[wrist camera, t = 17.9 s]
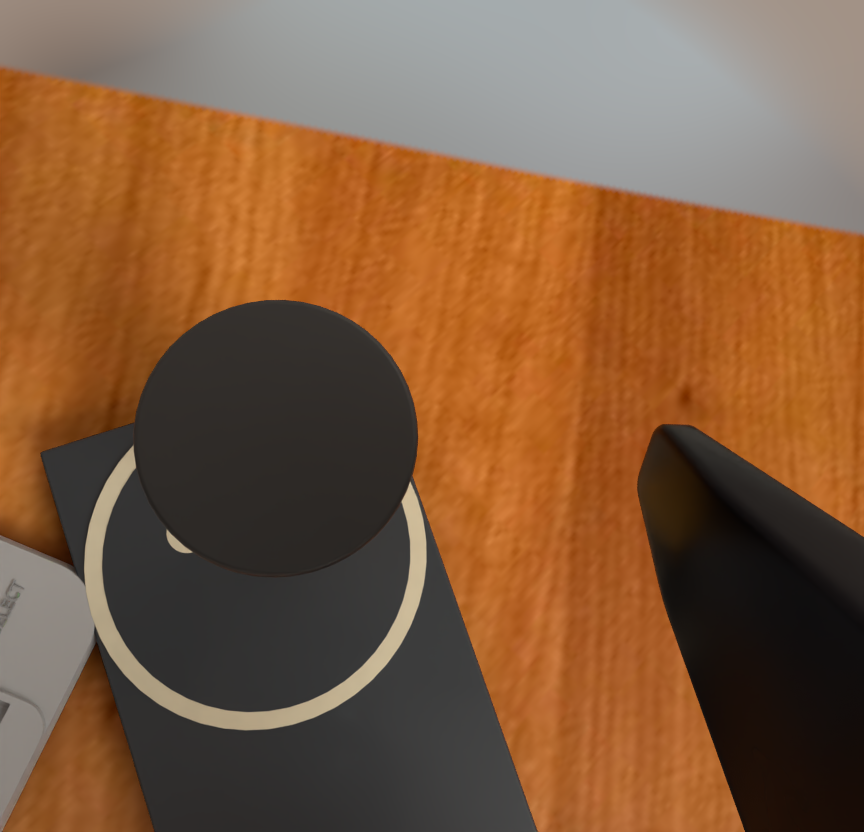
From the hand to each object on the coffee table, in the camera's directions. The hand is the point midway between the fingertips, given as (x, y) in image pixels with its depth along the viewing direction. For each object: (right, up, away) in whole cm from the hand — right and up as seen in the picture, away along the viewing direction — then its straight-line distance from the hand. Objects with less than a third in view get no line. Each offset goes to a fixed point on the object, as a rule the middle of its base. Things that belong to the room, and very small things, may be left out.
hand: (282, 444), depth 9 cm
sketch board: (-2, -7, +12) cm, 14 cm away
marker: (-2, -2, +12) cm, 12 cm away
